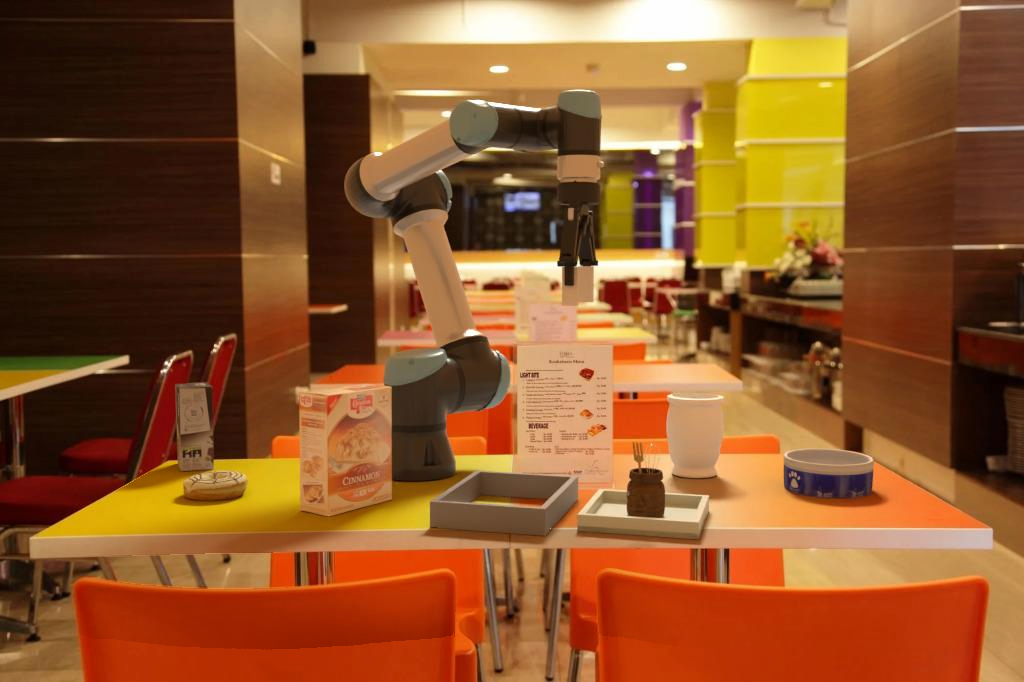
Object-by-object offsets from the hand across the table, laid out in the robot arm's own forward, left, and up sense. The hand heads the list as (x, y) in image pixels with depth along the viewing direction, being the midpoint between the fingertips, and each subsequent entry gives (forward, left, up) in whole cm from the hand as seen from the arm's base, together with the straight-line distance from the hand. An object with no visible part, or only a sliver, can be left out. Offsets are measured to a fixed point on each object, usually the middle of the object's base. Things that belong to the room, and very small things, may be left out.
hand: (578, 304), depth 185 cm
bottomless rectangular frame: (-7, -21, -33) cm, 39 cm away
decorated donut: (-59, -22, -33) cm, 71 cm away
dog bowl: (+43, +11, -33) cm, 55 cm away
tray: (+15, -20, -33) cm, 41 cm away
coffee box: (-76, -1, -33) cm, 83 cm away
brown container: (+15, -20, -32) cm, 41 cm away
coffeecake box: (-34, -23, -33) cm, 53 cm away
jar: (+19, +17, -33) cm, 42 cm away
